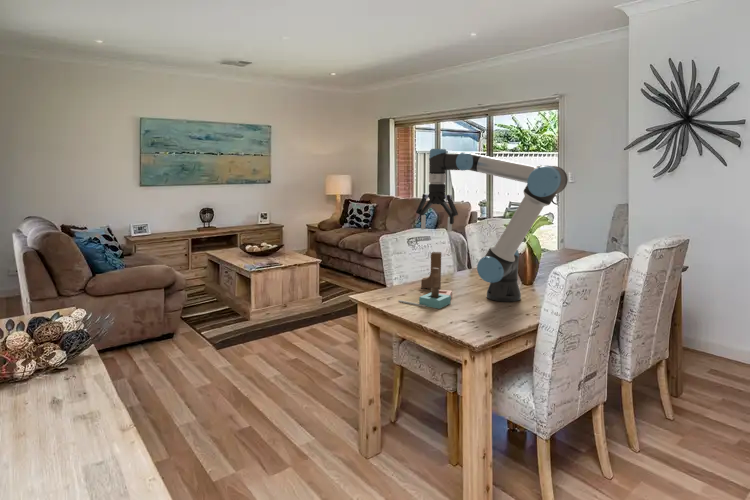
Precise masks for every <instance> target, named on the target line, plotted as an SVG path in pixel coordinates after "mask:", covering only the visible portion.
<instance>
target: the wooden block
mask: <svg viewBox="0 0 750 500" xmlns="http://www.w3.org/2000/svg"><path fill="white" fill-rule="evenodd" d="M432 268H439V290H441V285H442V284H441V283H442V282H441V280H442V252H441V251H432V252H431V253H430V273H429V276H428V277H422V279H421V285H420V286H421V289H423V288H427V289H426V290H431V286H432Z"/></svg>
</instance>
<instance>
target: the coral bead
mask: <svg viewBox="0 0 750 500" xmlns="http://www.w3.org/2000/svg"><path fill="white" fill-rule="evenodd" d="M439 294H443V295H449V296H451V299H452V298H453V290H448V289H447V290H445V289H439Z"/></svg>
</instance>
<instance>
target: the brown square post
mask: <svg viewBox="0 0 750 500" xmlns="http://www.w3.org/2000/svg"><path fill="white" fill-rule="evenodd" d="M439 290H440V289H439V268H432V286H431V289H430V291H431V292H430V293H431V298H439Z"/></svg>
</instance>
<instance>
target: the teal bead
mask: <svg viewBox="0 0 750 500" xmlns="http://www.w3.org/2000/svg"><path fill="white" fill-rule="evenodd" d="M418 300H419V302H418V304H422V305H426V307H428V308H434V309H442V308H444V307H446V306H448V305H451V302H452V301H451V300H452V298H451V296H449V295H443V294H439V298H431V292H428V293H427V294H424V295H420V296H419V299H418Z"/></svg>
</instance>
